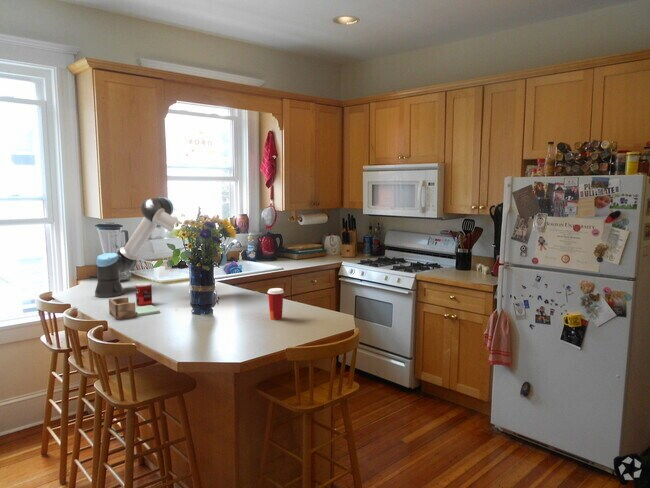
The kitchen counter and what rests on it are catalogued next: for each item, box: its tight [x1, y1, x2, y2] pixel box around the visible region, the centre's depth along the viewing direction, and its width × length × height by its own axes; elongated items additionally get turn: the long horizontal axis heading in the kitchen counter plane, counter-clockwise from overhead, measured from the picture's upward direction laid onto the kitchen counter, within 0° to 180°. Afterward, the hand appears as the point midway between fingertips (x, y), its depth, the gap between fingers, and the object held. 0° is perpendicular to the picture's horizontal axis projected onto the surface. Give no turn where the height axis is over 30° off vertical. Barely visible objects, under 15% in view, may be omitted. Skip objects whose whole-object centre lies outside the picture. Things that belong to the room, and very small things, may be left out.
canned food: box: [135, 282, 153, 307], centre depth 263 cm, size 8×8×11 cm
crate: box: [108, 296, 161, 320], centre depth 245 cm, size 20×14×7 cm
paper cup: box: [267, 287, 285, 321], centre depth 235 cm, size 8×8×14 cm
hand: (161, 265), depth 266 cm, fingers open, 13 cm apart
